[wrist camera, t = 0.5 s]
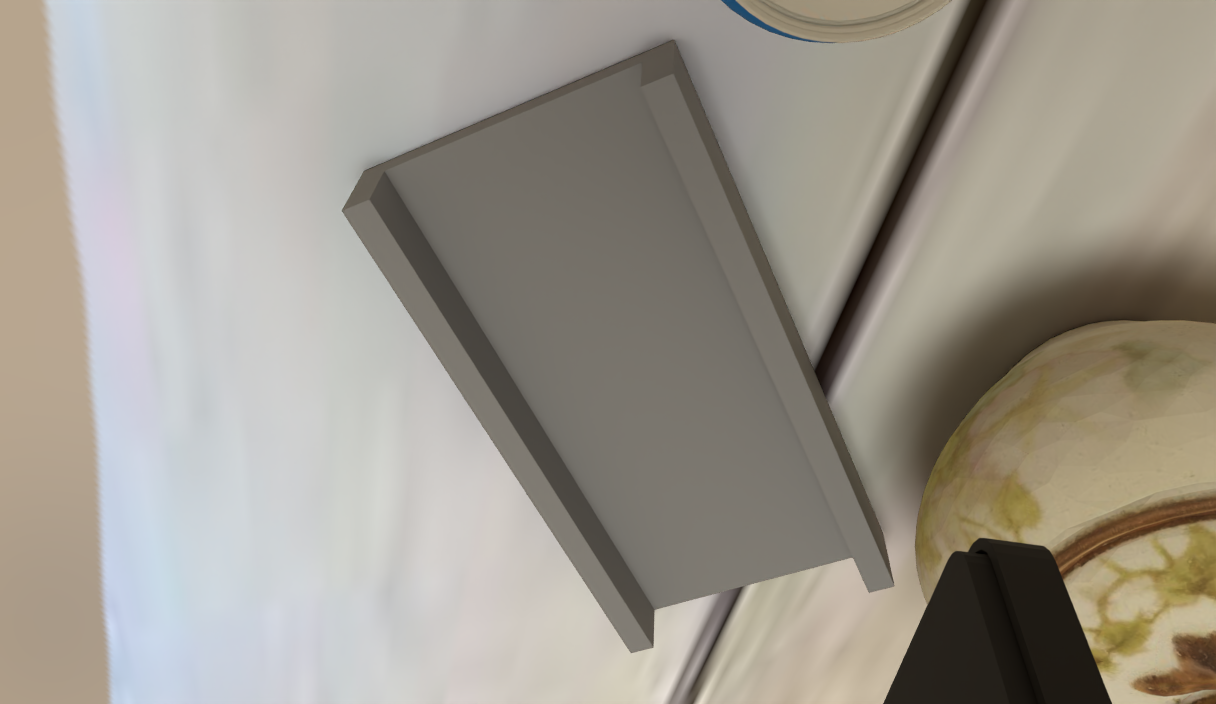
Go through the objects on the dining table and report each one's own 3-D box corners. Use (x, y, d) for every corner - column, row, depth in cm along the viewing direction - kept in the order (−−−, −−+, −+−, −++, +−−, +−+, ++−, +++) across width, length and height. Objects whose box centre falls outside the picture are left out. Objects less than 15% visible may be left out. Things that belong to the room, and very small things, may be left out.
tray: (674, 40, 32) (673, 73, 30) (883, 534, 43) (894, 586, 41) (363, 171, 35) (341, 210, 33) (633, 600, 46) (630, 653, 44)
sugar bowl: (1064, 640, 46) (1203, 1016, 34) (773, 507, 43) (810, 871, 30) (1477, 309, 36) (1893, 677, 24) (1137, 96, 32) (1418, 399, 20)
